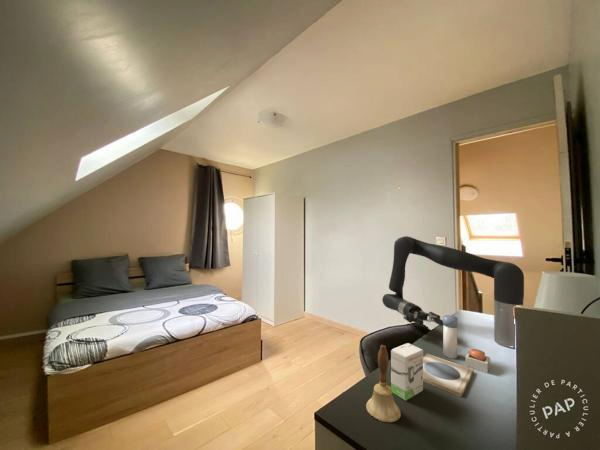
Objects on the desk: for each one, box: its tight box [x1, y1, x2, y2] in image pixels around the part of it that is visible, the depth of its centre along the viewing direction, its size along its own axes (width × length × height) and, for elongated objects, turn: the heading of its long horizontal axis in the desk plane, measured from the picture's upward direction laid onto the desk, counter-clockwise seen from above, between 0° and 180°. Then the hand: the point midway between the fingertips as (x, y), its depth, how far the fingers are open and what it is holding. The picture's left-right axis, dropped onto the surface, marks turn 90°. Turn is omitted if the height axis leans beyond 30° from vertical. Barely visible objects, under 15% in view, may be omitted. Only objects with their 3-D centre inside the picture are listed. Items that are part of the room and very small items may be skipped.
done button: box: [469, 348, 486, 360], centre depth 83 cm, size 4×4×2 cm
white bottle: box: [442, 314, 459, 359], centre depth 90 cm, size 5×5×14 cm
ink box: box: [390, 342, 424, 402], centre depth 69 cm, size 9×5×12 cm, turn 123°
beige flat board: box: [423, 353, 474, 398], centre depth 78 cm, size 17×14×1 cm
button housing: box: [464, 350, 491, 374], centre depth 83 cm, size 6×6×3 cm
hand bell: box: [365, 344, 402, 423], centre depth 62 cm, size 8×8×16 cm
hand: (432, 323), depth 100 cm, fingers open, 8 cm apart
